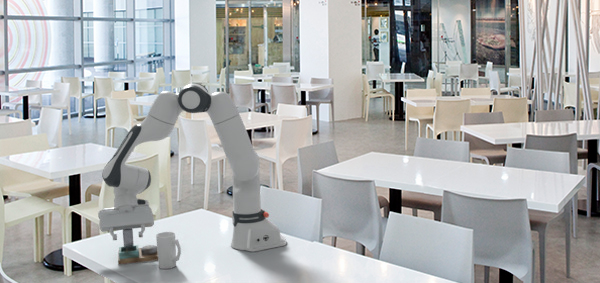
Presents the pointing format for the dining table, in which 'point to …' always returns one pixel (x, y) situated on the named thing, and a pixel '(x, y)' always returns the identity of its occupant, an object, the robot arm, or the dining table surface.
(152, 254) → the nut block
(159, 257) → the mug
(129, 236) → the pin
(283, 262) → the dining table surface
